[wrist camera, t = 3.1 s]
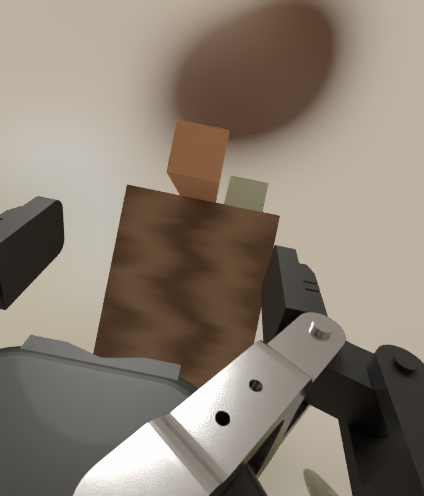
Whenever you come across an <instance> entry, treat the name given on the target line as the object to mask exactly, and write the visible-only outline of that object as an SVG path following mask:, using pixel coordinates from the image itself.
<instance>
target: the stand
mask: <svg viewBox="0 0 424 496" xmlns="http://www.w3.org/2000/svg"><path fill="white" fill-rule="evenodd" d="M279 217H280V216H278V215H273V214H269V213H264V212H259V211H254V210H249V209H244V208H239V207H234V206H229V205H224V204H219V203H215V202H210V201H205V200H200V199H195V198H190V197H185V196H180V195H175V194H170V193H166V192H161V191H156V190H151V189H146V188H141V187H136V186H131V185H127V188H126V193H125V198H124V203H123V208H122V213H121V218H120V223H119V228H118V233H117V238H116V243H115V248H114V253H113V258H112V263H111V268H110V273H109V278H108V283H107V288H106V293H105V298H104V303H103V308H102V313H101V318H100V323H99V328H98V333H97V338H96V343H95V348H94V353H93V354H94V355H96V356H99V357H102V358H149V359H154V360H159V361H164V362H169V363H174V364H179V365H181V367H180V372H179V377H181V378H183V379H185V380H187V381H188V382H190V383H191V384H193V385H194V386H196V387H197V388H198V389H200V388H201V387H202V386H204V385H205V384H206V383H207V382H208V381H210V380H211V379H212V378H213V377H214V376H216V375H217V374H218V373H219V372H220V371H222V370H223V369H224V368H225V367H227V366H228V365H229V364H230V363H231V362H233V361H234V360H235V359H236V358H237V357H239V356H240V355H241V354H242V353H244V352H245V351H246V350H247V349H248V348H250V347H251V346H252V345H253V344H254V340H255V335H256V330H257V325H258V320H259V315H260V310H261V287H262V282H263V278H264V275H265V272H266V269H267V266H268V263H269V260H270V257H271V254H272V251H273V247H274V242H275V236H276V232H277V227H278V222H279Z"/></svg>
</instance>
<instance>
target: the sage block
mask: <svg viewBox="0 0 424 496" xmlns="http://www.w3.org/2000/svg"><path fill="white" fill-rule="evenodd" d="M267 187H268V183H265V182H260V181H255V180H251V179H245V178H241V177H236V176H231V177H230V180H229V183H228V188H227V193H226V198H225V203H224V205H229V206H234V207H239V208H244V209H249V210H254V211H259V212H263V207H264V202H265V197H266V192H267Z"/></svg>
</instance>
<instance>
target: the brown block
mask: <svg viewBox="0 0 424 496" xmlns="http://www.w3.org/2000/svg"><path fill="white" fill-rule="evenodd" d="M228 135H229V130H226V129H221V128H217V127H211V126H207V125H202V124H197V123H192V122H187V121H182V120H178V119H177V123H176V128H175V133H174V138H173V143H172V148H171V153H170V158H169V163H168V168H167V173H168V175H169V177H170V178H171V180H172V182H173V184H174V186H175V187H176V189H177V191H178V192H179V194H180V196H185V197H190V198H195V199H200V200H205V201H210V202H215V203H216V199H217V194H218V189H219V184H220V178H221V173H222V168H223V162H224V157H225V152H226V146H227V140H228Z"/></svg>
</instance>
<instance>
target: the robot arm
mask: <svg viewBox="0 0 424 496" xmlns="http://www.w3.org/2000/svg"><path fill="white" fill-rule="evenodd" d="M63 244H64V223H63V207H62V203H61V202H60V201H59V200H54V199H49V198H44V197H40V196H38V197H35V198H34V199H32V200H31V201H29V202H28V203H27V204H25V205H24V206H20V207H17V208H13V209H10V210H7V211H5V212H4V213H2V214H1V215H0V309H3V310H6V309H7V308H8V307H9V306H10V305H11V304H12V303H13V302H14V301H15V300H16V299H17V298H18V297H19V296H20V295H21V293H22V292H23V291H24V290H25V289H26V288H27V287H28V286H29V285H30V284H31V283H32V282H33V281H34V280H35V279H36V278H37V276H38V275H39V274H40V273H41V272H42V271H43V270H44V269H45V268H46V267H47V266H48V265H49V264H50V263H51V262H52V261H53V260H54V259H55V257H57V256H58V254H59V253H60V252H61V250H62V248H63ZM317 284H318V283H317V280H316V277H315V274H314V273H313V272H312V270H310V268H309V267H308V266H307V265H305V264H300V263H299V261H298V258H297V253H296V250H295V249H292V248H286V247H281V246H277V245H275V246H274V248H273V251H272V254H271V257H270V260H269V263H268V266H267V269H266V272H265V275H264V278H263V282H262V287H261V307H262V325H263V341H261V340H260V341H257V342H256V343H254V344H253V345H252V346H251V347H250V348H248V349H247V350H246V351H245V352H244V353H242V354H241V355H240V356H239V357H237V358H236V359H235V360H234V361H233V362H231V363H230V364H229V365H228V366H227V367H225V368H224V369H223V370H222V371H220V372H219V373H218V374H217V375H216V376H214V377H213V378H212V379H211V380H210V381H208V382H207V383H206V384H205V385H204V386H202V387H201V388H200V389H198V388H197V387H196V386H194V385H193V384H191V383H190V382H188V381H187V380H185V379H183V378H181V377H179V372H180V367H181V365H179V364H174V363H169V362H164V361H159V360H154V359H149V358H102V357H99V356H96V355H94V354H92V353H90V352H88V351H85V350H83V349H81V348H79V347H77V346H75V345H72V344H70V343H68V342H64V341H59V340H53V339H49V338H43V337H38V336H33V335H30V336H29V338H28V339H27V340H26V341H25V343H24V344H23V345H22V346H16V347H7V348H2V349H0V496H267V494H266V492H265V491H264V489H263V487H262V486H261V484H260V482H259V481H258V477H259V476H260V475H261V473H262V471H264V469H265V468H266V466H267V465H268V463H269V461H270V460H271V459H272V457H273V455H274V454H275V452H276V451H277V449H278V448H279V446H280V445H281V444H282V442H283V441H284V439H285V438H286V437H287V436H288V434H289V433H290V432H291V430H292V429H293V428H294V426H295V425H296V424H297V422H298V421H299V420H300V419H301V417H302V416H303V415H304V413H305V412H306V411H307V409H308V408H309V407H310V405H311V406H314V407H315V408H318V409H320V410H322V411H324V412H325V413H327V414H329V415H331V416H333V417H335V418H337V419H338V421H339V426H340V432H341V437H342V442H343V448H344V453H345V458H346V464H347V469H348V474H349V480H350V485H351V490H352V495H353V496H424V363H422V361H421V360H420V359H418V358H417V357H416V356H414V355H413V354H412V353H410V352H409V351H407V350H405V349H403V348H400V347H397V346H394V345H382V346H380V347H379V348H378V349H377V350H376V352H375V353H371V352H369V351H367V350H364V349H362V348H359V347H358V346H355V345H353V344H351V343H349V342H348V341H346V336H345V333H344V331H343V330H342V328H341V327H340V326H339V325H338V324H337V323H336V322H335V321H333V320H332V319H331V318H329V317H328V316H327V313H326V309H325V306H324V303H323V299H322V297H321V293H320V290H319V286H318V285H317Z"/></svg>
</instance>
